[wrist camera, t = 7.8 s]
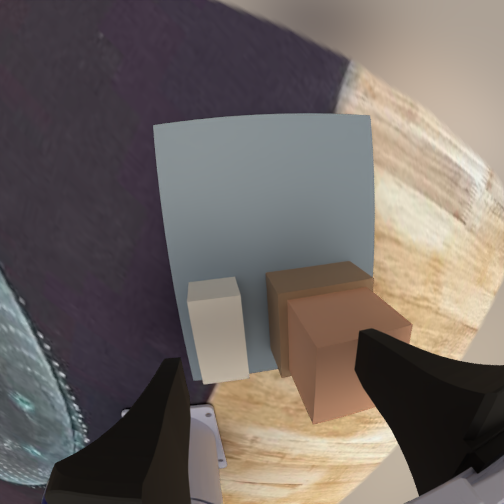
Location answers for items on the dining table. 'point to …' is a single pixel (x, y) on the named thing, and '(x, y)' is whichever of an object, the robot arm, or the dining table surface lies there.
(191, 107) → the dining table surface
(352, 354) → the terracotta block
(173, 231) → the board
